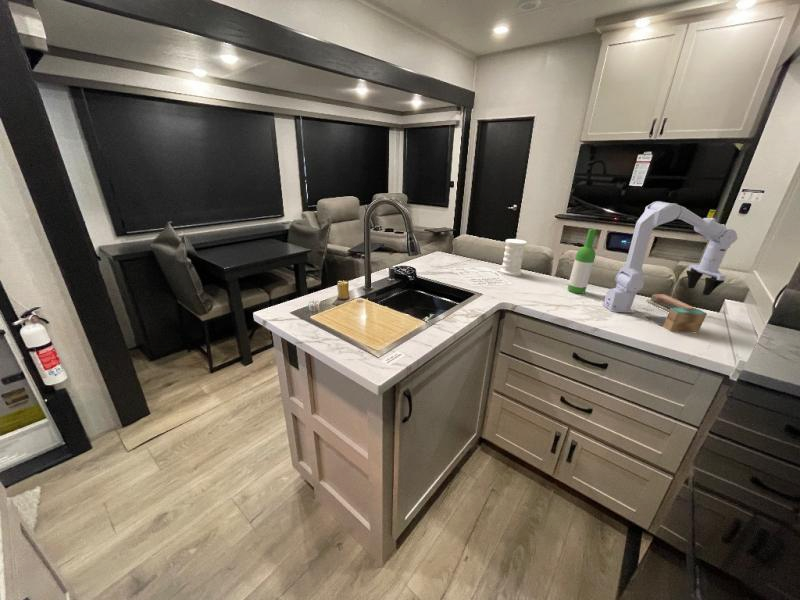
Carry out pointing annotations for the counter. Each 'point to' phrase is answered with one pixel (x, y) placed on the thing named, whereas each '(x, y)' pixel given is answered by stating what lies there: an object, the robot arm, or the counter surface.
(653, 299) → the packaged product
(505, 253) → the decorative container
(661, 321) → the rubber mat
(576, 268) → the wine bottle
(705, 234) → the robot arm
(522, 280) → the counter surface
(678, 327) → the brown box
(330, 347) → the counter surface
